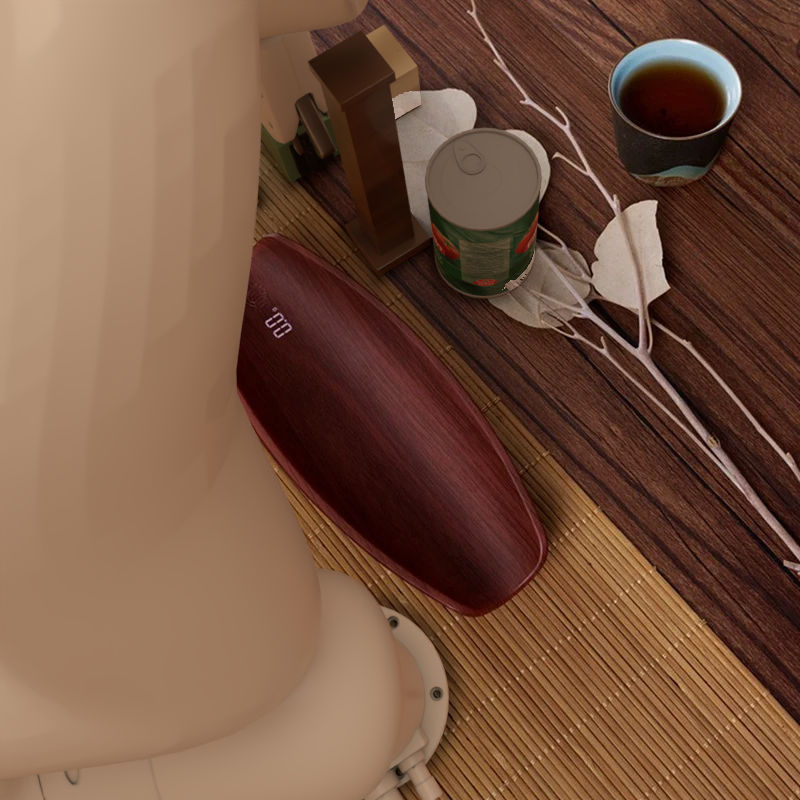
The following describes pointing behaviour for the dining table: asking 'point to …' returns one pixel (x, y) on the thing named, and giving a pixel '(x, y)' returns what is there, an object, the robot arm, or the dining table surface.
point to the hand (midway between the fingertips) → (299, 140)
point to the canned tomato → (483, 210)
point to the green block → (283, 151)
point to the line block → (396, 61)
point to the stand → (369, 151)
